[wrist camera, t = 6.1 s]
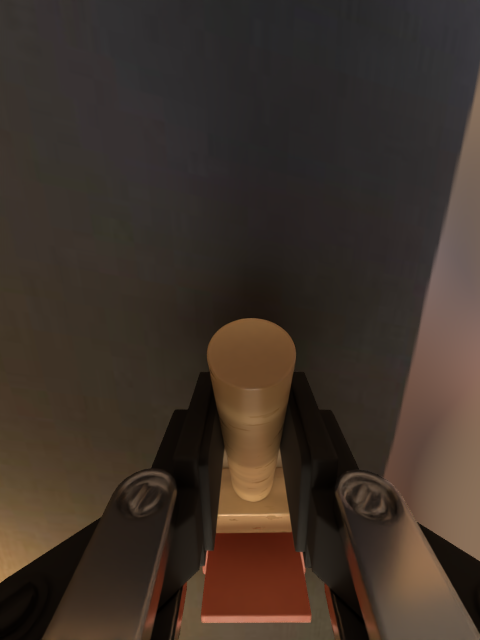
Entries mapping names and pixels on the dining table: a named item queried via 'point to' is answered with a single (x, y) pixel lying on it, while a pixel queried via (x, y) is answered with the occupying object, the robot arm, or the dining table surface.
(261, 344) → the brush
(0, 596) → the robot arm
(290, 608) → the brush stand
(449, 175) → the dining table surface
